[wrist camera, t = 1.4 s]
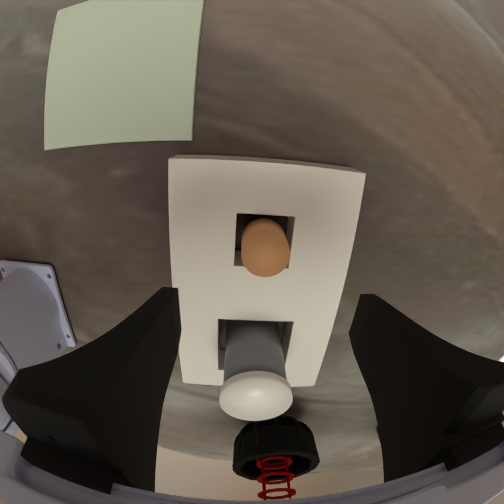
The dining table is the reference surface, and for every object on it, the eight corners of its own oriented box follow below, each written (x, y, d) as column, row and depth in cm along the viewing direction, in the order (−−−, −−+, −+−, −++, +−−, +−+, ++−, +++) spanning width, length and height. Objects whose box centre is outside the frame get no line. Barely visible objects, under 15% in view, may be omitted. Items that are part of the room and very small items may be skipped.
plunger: (282, 259, 20) (287, 278, 17) (240, 257, 19) (240, 275, 17) (287, 219, 18) (293, 233, 16) (242, 217, 18) (242, 231, 16)
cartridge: (277, 348, 26) (286, 420, 18) (224, 346, 25) (219, 419, 18) (283, 306, 24) (298, 380, 16) (224, 303, 23) (218, 378, 16)
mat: (192, 140, 18) (191, 140, 18) (48, 149, 17) (44, 150, 17) (207, -16, 13) (206, -19, 13) (61, 12, 12) (57, 10, 12)
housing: (309, 367, 27) (314, 385, 25) (186, 363, 26) (183, 382, 24) (352, 167, 19) (365, 173, 17) (177, 154, 18) (168, 158, 16)
